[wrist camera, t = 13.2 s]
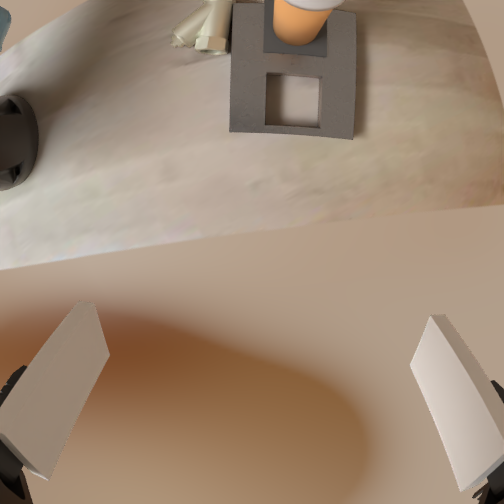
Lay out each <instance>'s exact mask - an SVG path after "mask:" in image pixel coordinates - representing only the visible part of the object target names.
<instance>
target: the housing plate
mask: <svg viewBox="0 0 504 504" xmlns="http://www.w3.org/2000/svg"><path fill="white" fill-rule="evenodd" d="M264 5H265V3H233V22H232V49H231V82H230V128H229V132H247V133H276V134H294V135H308V136H321V137H331V138H341V139H350V140H353V132H354V115H355V94H356V13H352V12H346V11H340V10H332V12H331V13H330V15H329V16H328V18H327V57H320V56H311V55H300V54H287V53H267V52H263V44H264ZM266 75H285V76H299V77H311V78H319V104H318V125H317V128H310V127H296V126H279V125H265V104H266Z"/></svg>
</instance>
